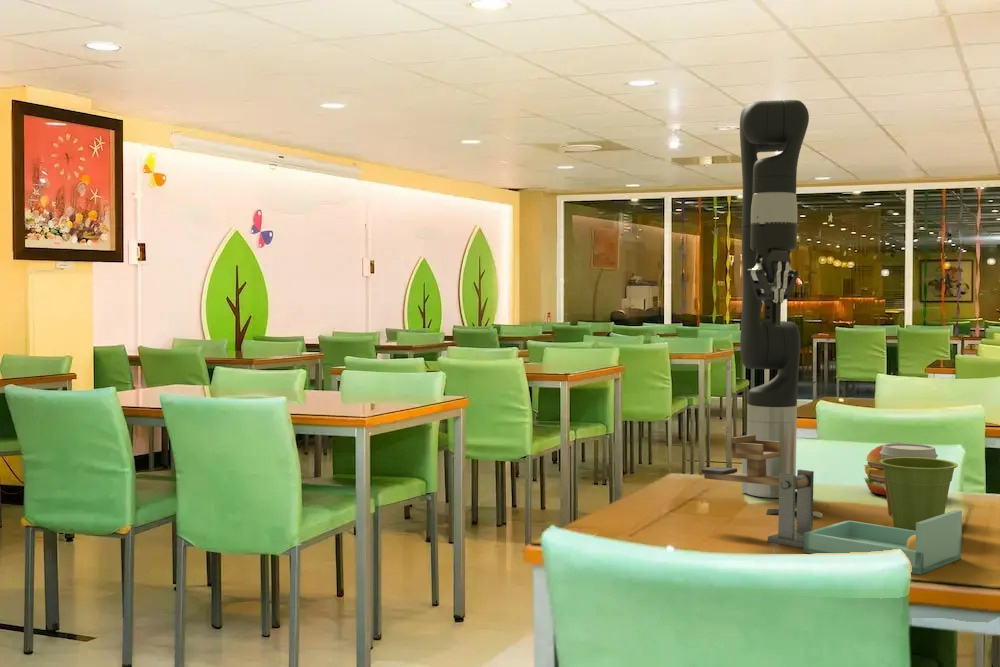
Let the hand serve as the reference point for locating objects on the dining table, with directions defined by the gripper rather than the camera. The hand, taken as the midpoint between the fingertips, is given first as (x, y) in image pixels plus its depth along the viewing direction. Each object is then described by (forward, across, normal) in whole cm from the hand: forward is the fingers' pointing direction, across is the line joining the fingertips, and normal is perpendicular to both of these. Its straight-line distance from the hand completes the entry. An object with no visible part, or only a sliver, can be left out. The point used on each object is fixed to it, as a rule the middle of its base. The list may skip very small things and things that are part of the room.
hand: (772, 325), depth 182 cm
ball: (+31, +9, +30) cm, 43 cm away
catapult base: (+33, +9, +10) cm, 36 cm away
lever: (+25, +9, +3) cm, 27 cm away
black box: (+34, -11, -1) cm, 35 cm away
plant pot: (+33, -12, +20) cm, 41 cm away
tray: (+33, +9, +24) cm, 42 cm away
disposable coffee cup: (+33, -24, +13) cm, 43 cm away
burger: (+33, -43, +3) cm, 54 cm away
